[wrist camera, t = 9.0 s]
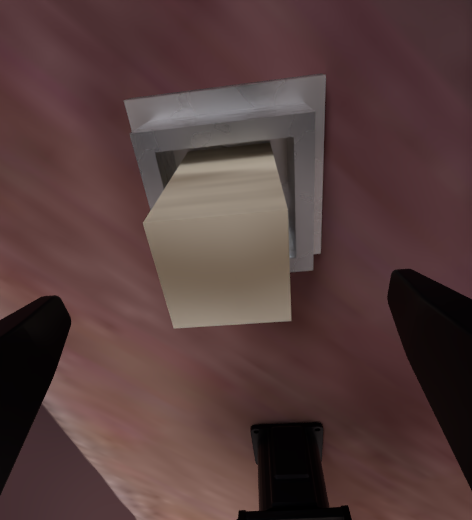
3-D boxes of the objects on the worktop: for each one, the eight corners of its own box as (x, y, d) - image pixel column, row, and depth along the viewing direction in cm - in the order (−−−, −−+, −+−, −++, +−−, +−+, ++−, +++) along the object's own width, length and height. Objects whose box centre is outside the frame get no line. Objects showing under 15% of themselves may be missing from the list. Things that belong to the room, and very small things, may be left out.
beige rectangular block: (274, 218, 17) (291, 321, 11) (201, 225, 18) (173, 328, 11) (269, 142, 15) (288, 209, 9) (187, 151, 16) (143, 223, 9)
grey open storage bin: (317, 245, 19) (332, 284, 16) (171, 257, 20) (156, 297, 17) (321, 73, 15) (343, 78, 11) (130, 98, 15) (97, 109, 12)
